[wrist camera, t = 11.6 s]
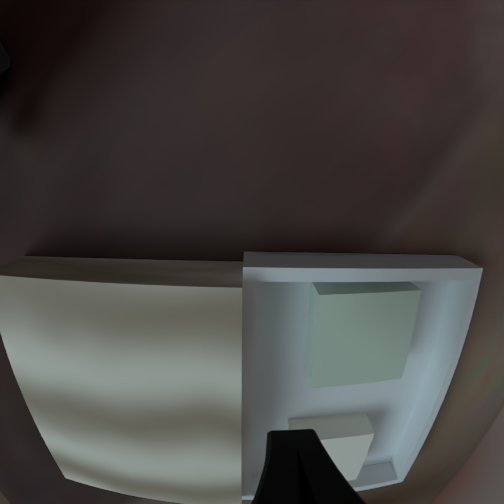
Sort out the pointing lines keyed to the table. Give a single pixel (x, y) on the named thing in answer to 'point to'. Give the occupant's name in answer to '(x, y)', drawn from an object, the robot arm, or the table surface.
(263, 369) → the box
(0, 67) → the tool
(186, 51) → the table surface
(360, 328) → the tile sage
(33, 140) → the table surface
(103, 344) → the bench board
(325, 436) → the tile cream
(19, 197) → the table surface
